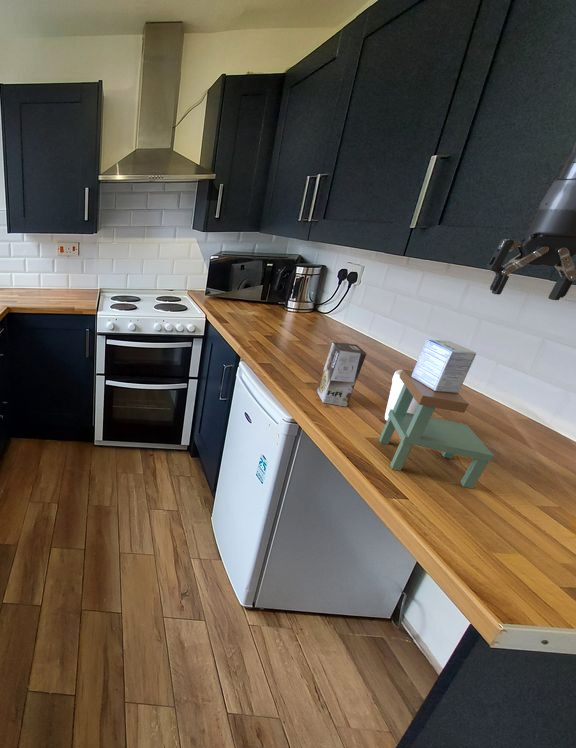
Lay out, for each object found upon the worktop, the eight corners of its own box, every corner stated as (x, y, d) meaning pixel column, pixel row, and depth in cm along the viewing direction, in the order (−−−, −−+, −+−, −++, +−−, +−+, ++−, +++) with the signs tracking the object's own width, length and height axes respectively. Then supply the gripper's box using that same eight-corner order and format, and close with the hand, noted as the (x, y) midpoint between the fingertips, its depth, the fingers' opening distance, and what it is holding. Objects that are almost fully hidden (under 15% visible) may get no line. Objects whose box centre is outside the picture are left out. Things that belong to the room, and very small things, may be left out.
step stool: (449, 453, 93) (485, 382, 86) (476, 492, 80) (522, 413, 72) (374, 436, 99) (402, 369, 91) (388, 471, 86) (422, 395, 78)
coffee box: (347, 407, 113) (367, 353, 107) (322, 403, 115) (340, 350, 108) (339, 394, 121) (357, 344, 114) (315, 390, 123) (332, 340, 116)
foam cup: (423, 434, 100) (445, 387, 95) (378, 423, 105) (397, 378, 100) (418, 419, 108) (438, 375, 102) (376, 410, 112) (394, 367, 107)
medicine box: (458, 394, 79) (478, 353, 76) (433, 391, 80) (452, 350, 76) (432, 378, 86) (450, 340, 83) (409, 376, 87) (426, 338, 84)
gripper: (526, 206, 73) (485, 295, 80) (641, 209, 67) (585, 305, 74) (507, 206, 79) (470, 289, 86) (610, 209, 73) (562, 298, 80)
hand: (523, 296), depth 80 cm, fingers open, 8 cm apart
